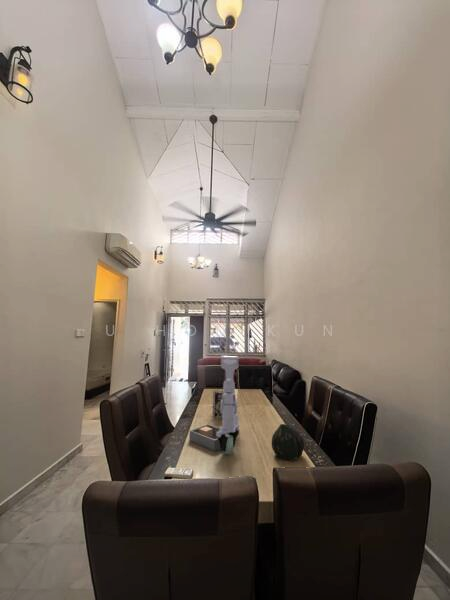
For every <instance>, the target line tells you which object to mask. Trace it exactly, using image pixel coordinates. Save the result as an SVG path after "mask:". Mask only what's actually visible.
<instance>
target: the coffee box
mask: <svg viewBox="0 0 450 600" xmlns="http://www.w3.org/2000/svg"><path fill="white" fill-rule="evenodd" d="M222 394H223V390H219V391H217V390H216V391H213V392H212V414H211V415H212V417H213V419H216V420H217V419H222V414H221V413H220V407H221V400H222Z"/></svg>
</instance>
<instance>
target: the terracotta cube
mask: <svg viewBox="0 0 450 600" xmlns="http://www.w3.org/2000/svg"><path fill="white" fill-rule="evenodd" d="M212 433H213V429H212V428H209V427H203V428H200V429H199V434H202V435H204V436H207V437H209V438H212Z"/></svg>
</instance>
